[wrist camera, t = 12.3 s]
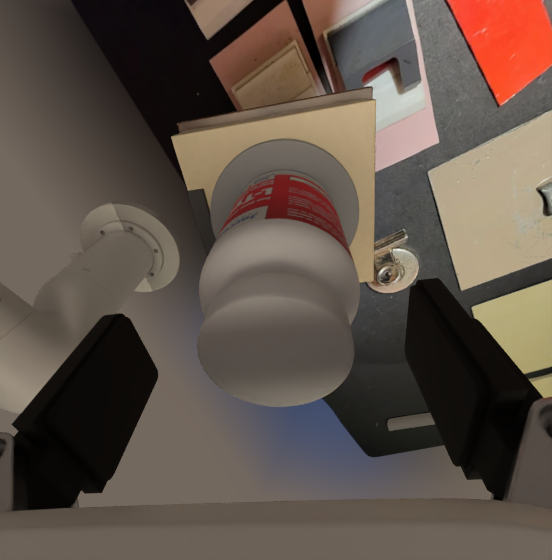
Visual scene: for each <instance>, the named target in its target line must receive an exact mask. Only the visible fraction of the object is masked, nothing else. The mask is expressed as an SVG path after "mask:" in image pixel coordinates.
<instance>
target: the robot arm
mask: <svg viewBox="0 0 552 560" xmlns="http://www.w3.org/2000/svg"><path fill="white" fill-rule="evenodd" d="M70 260H71V262H72V263H71V264H69V265H68V266H67V267H65V268H64V269H63V270H62V271H60V272H59V273H58V274H56V275H55V276H54V277H53V278H51V279H50V280H49V281H48V282H47V283H45V284H44V285H43V286H42V288H41V289H40V290H39V292H38V294H37V296H36V298H35V301H34V305H33V307H32V306H30V305H29V304H28V303H27V302H25V301H24V300H22V299H21V298H20V297H19V296H17V295H16V294H15V293H13V292H12V291H11V290H10V289H8V288H7V287H6V286H4V285H3V284H2V283H0V409H1V410H4V411H8V412H13V413H21V414H20V415H19V416H18V418H17V419H16V420H15V421H14V422H13V424H12V425H13V426H14V427H15V428H16V429H17V430H18V433H17V434H16V435H15V436H14V437H13V436H12V435H11V434H9V433H3V432H1V433H0V560H552V397H547V398H543V397H542V395H541V394H540V393H539V392H538V391H537V389H536V388H535V387H534V386H533V385H532V383H531V382H530V381H529V380H528V379H527V377H526V376H525V375H524V374H523V373H522V371H521V370H520V369H519V368H518V367H517V365H516V364H515V363H514V362H513V361H512V359H511V358H510V357H509V356H508V355H507V353H506V352H505V351H504V350H503V349H502V347H501V346H500V345H499V344H498V343H497V341H496V340H495V339H494V338H493V337H492V335H491V334H490V333H489V332H488V331H487V329H486V328H485V327H484V326H483V325H482V323H481V322H479V321H478V320H477V319H475V318H471V317H470V316H469V315H468V314H467V312H466V311H465V310H464V309H463V307H462V306H461V305H460V304H459V302H458V301H457V300H456V299H455V298H454V296H453V295H452V294H451V293H450V291H449V290H448V289H447V288H446V286H445V285H444V284H443V283H442V281H441V280H440V279H438V278H433V279H424V280H418V281H417V282H416V285H413V286H411V287H410V295H409V306H408V317H407V328H406V339H405V355H406V359H407V361H408V363H409V366H410V368H411V370H412V372H413V375H414V377H415V379H416V382H417V384H418V386H419V388H420V391H421V393H422V395H423V397H424V400H425V402H426V404H427V406H428V409H429V411H430V413H431V416H432V418H433V420H434V422H435V425H436V427H437V429H438V431H439V434H440V436H441V438H442V441H443V443H444V445H445V447H446V450H447V452H448V454H449V456H450V459H451V460H452V462H453V464H454V465H455V466H461V468H462V470H463V472H464V474H465V477H466V478H467V480H473V479H482V480H483V482H484V484H485V486H486V488H487V490H488V491H489V492H491V493H492V497H491V500H480V499H457V498H451V499H450V498H448V499H447V498H440V499H359V500H358V499H357V500H356V499H355V500H317V501H316V500H314V501H273V502H239V503H207V504H206V503H205V504H173V505H142V506H114V507H86V508H79V506H78V498H77V497H78V495H79V493H80V491H81V490H82V491H83V492H84V493H102V491H103V489H104V487H105V485H106V483H107V481H108V480H110V479H111V478H112V476H113V475H114V473H115V471H116V469H117V466H118V464H119V462H120V460H121V458H122V456H123V453H124V451H125V449H126V447H127V445H128V442H129V440H130V438H131V436H132V434H133V432H134V429H135V427H136V425H137V423H138V421H139V419H140V416H141V414H142V412H143V410H144V408H145V405H146V403H147V401H148V399H149V397H150V395H151V392H152V390H153V388H154V386H155V384H156V381H157V379H158V370H157V368H156V366H155V364H154V363H153V361H152V359H151V357H150V355H149V353H148V351H147V350H146V348H145V346H144V344H143V342H142V340H141V339H140V337H139V335H138V333H137V331H136V329H135V327H134V326H133V324H132V322H131V320H130V319H129V318H128V317H125V316H124V315H123V314H116V313H117V312H118V310H119V309H120V308H121V307H122V305H123V304H124V303H125V302H126V300H127V299H128V298H129V296H130V295H131V294H132V293H133V291H134V290H135V289H136V288H137V286H138V285H139V284H140V282H146V281H149V280H151V279H153V278H154V277H156V276H157V274H158V273H159V272H160V270H161V269H162V267H163V264H164V254H163V250H162V247H161V245H160V244H159V242H158V240H157V239H156V238H155V237H154V235H153V234H152V233H150V232H149V231H148V230H147V229H145V228H144V227H142V226H140V225H138V224H136V223H133V222H130V221H124V220H117V221H112V222H109V223H107V224H105V225H104V226H102V227H101V228H100V229H99V230H98V231H97V233H96V235H95V237H94V246H92V247H91V248H90V249H88V250H87V251H86V252H85V253H74V254H71V255H70Z"/></svg>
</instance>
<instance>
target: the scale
mask: <svg viewBox="0 0 552 560" xmlns="http://www.w3.org/2000/svg"><path fill="white" fill-rule="evenodd" d="M375 124H376V100H375V99H367V98H361V99H356V100H350V101H345V102H339V103H334V104H328V105H323V106H317V107H312V108H307V109H301V110H296V111H290V112H285V113H279V114H274V115H268V116H263V117H258V118H252V119H247V120H241V121H236V122H230V123H225V124H219V125H214V126H208V127H203V128H198V129H192V130H187V131H184V132H182V133H179V134H177V135H174V136H172V137H171V138H172V142H173V145H174V148H175V151H176V154H177V157H178V161H179V164H180V167H181V170H182V173H183V176H184V179H185V183H186V186H187V189H188V192H187V195H188V198H189V201H190V204H191V208H192V211H193V214H194V217H195V220H196V223H197V226H198V229H199V232H200V236H201V239H202V242H203V245H204V248H205V251H206V254H207V257H208V254H209V252H210V251H211V249H212V247H213V245H214V243H215V241H216V239H217V237H218V235H219V233H220V231H221V229H222V227H223V225H224V223H225V222H226V220H227V217H228V216H229V213H230V212H231V210H232V208H233V206H234V204H235V202H236V200H237V198H238V197H239V195H240V194H241V192H242V191H243V189H244V188H245V187H246V186H247V185H248V184H249V183H250V182H252V181H253V180H254V179H256V178H258V177H259V176H262V175H264V174H266V173H269V172H273V171H281V170H286V171H294V172H299V173H302V174H305V175H307V176H309V177H311V178H312V179H314V180H315V181H317V182H318V183H319V184H320V185H321V186H322V187H323V188H324V189H325V190H326V191H327V193H328V194H329V196H330V198H331V200H332V201H333V203H334V206H335V209H336V211H337V214H338V217H339V220H340V223H341V226H342V229H343V232H344V235H345V237H346V240H347V243H348V246H349V249H350V252H351V255H352V258H353V261H354V264H355V267H356V270H357V274H358V279H359V282H368V281H373V278H374V201H375Z"/></svg>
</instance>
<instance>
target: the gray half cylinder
mask: <svg viewBox="0 0 552 560" xmlns="http://www.w3.org/2000/svg"><path fill="white" fill-rule="evenodd" d="M387 424H388V429H389V431H392V430H399V429H405V428H412V427H419V426H426V425H432V424H435V422H434V420H433V418H432V416H431V413H430V412H429V413H422V414H416V415H410V416H403V417H397V418H391V419H389V420H388V422H387Z"/></svg>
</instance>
